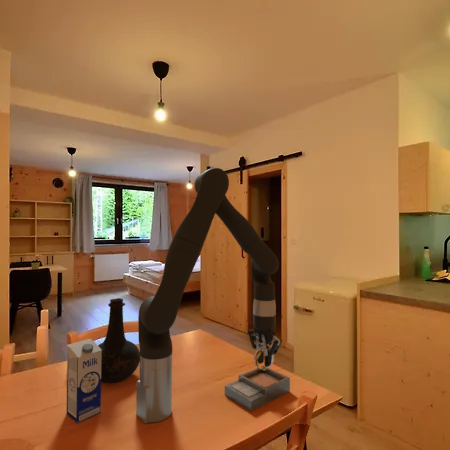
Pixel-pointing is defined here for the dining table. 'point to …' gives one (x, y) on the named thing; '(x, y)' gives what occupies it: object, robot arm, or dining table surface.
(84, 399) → the milk carton
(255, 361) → the ring
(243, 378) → the grey tray
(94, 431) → the dining table surface
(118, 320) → the glass bottle
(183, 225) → the robot arm
